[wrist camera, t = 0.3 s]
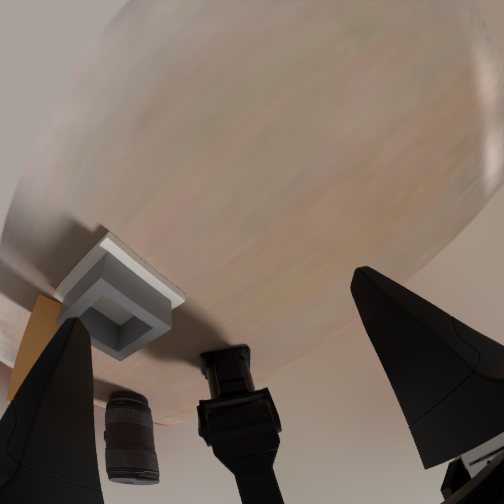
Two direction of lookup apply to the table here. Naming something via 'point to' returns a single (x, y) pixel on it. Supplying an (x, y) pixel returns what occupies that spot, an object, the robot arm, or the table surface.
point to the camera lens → (130, 440)
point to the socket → (118, 298)
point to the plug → (34, 340)
